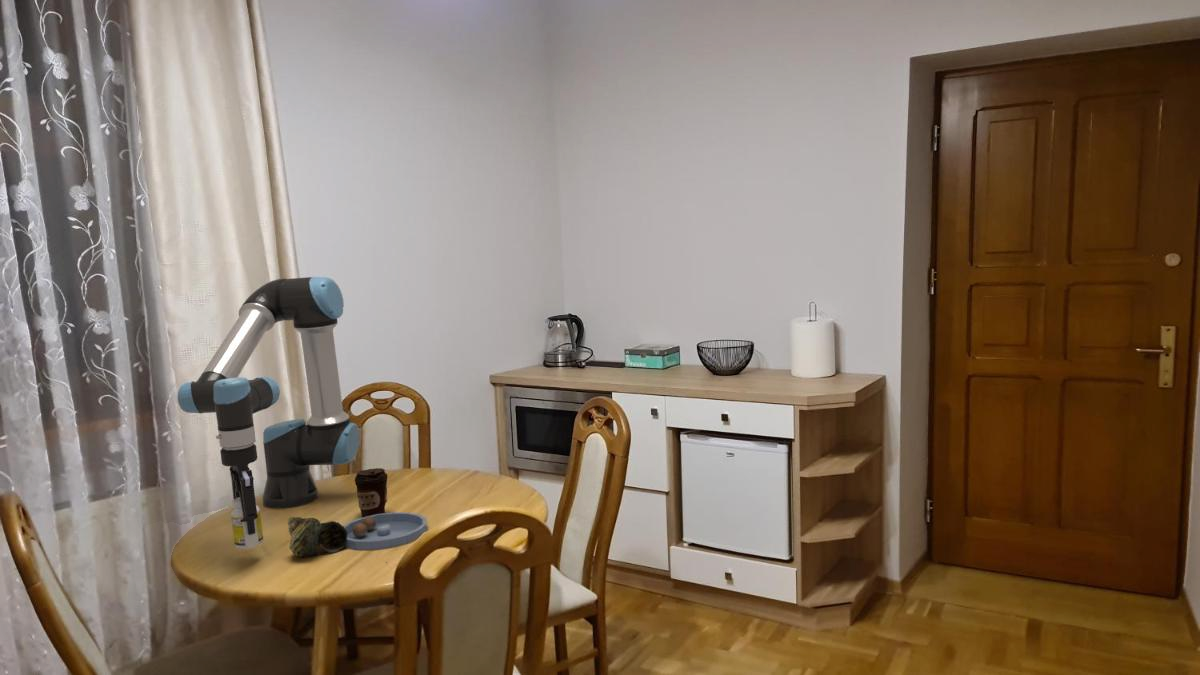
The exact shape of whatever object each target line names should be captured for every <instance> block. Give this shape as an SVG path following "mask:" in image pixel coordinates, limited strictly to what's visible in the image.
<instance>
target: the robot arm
mask: <svg viewBox="0 0 1200 675" xmlns="http://www.w3.org/2000/svg"><path fill="white" fill-rule="evenodd" d="M344 306H345V305H344V297H343V293H342V292H341V288H340V287H339V285H338V284H337V283H336V281H335V280H333V279H332V278H330V277H326V276H325V277H324V276H322V277H321V276H309V277H307V276H305V277H294V278H278V279H273V280H271V281H269V282H266V283H265V284H263V285H261V286H260V287H259V288H257V289H256V290H255V291H253V293H251V294H250V295H249V296H248V297H246V299H245V301H244V302H243V304H242V305H241V307H240V308H239V310H238V318H237V320H236V321H235V323H234V324H233V326H232V327H231V329H230V330H229V332H228V334H227V335H226V336H225V338H224V340H223V341H222V343H221V344H220V346H219V347H218V349H217V350H216V352H215V353H214V354H213V356H212V358H211V359H210V360H209V362H208V364H207V365H206V367H205V369H204V370H203V372H202V373H201V375H200V376H199V377H198V379H197V380H196V381H194V380H193V381H190V382H189V381H188V382H185V383H183V384H182V385H181V386H180V387H179V388H178V392H177V403H178V405H179V407H180V409H181V410H182V411H183V412H185V413H186V414H188V413H190V414H211V413H212V414H213V413H215V416H216V422H217V431H218V434H217V435H215V438H216V439H217V440H219V446H220V448H221V449H220V458H221V459H220V460H221V464H222V466H225V467H229V471H230V477H231V478H230V479H231V480H230V481H231V488H232V489H231V490H232V497H233V498H232V499H233V500H234V499H236V498H238V497H240V500H241V506H242V512H243V519H242V520H240V521H241V522H243V529H244V537H245V546H246V549H251V548H255V547H258V546H260V545H259V542H258V533H257V524H256V518H258V514H257V509H256V505H257V502H256V495H255V488H254V480H255V479H254V478H255V477H254V476H253V471H252V469H250V467H249V464H251V463H254V462H256V461H257V460H258V451H257V445H256V444H255V443H256V441H257V439H256V432H255V431H256V430H255V429H256V428H255V423H254V414H256V413H258V412H261V411H264V410H266V409H269V408H270V407H271V406H273V405H274V404H276V403H277V402H278V400H279V399H280V395H281V394H280V393H281V392H280V391H281V390H280V388H279V385H278V383H277V382H276V381H275V380H274V379H272V378H271V377H269V376H262V377H255V378H253V379H248V378H246V377H241V376H240V377H239V375H240V374H241V373H242V371H243V369H244V368H245V366H246V364H247V363H248V361H249V359H250V358H251V355H252V354H253V352H254V351H255V350H256V348H257V346H258V344H259V343H260V341H261V340H262V338H263V336H264V335H265V333H266V332H269V331H270V330H272V329H273V327H274V326H275V324H276V323H278V322H282V321H293V322H292V323H293V328H294V329H295V330H296V331H297V332H299V333H300V338H301V345H302V354H303V361H304V362H303V363H304V367H305V375H306V383H307V390H308V398H309V406H310V413H311V416H310V417H309V418H308V420H307V421H306V419H304V418H302V419H301V418H295V419H291V420H285V421H281V422H279V423H274V424H272V425H269V426H267V427H265V429H264V430H263V432H262V434H263V435H262V436H263V437H262V438H263V439H262V440H263V441H262V442H263V443H262V444H263V453H264V459H265V469H266V481H265V485H264V490H263V494H262V505H263V506H264V507H265V508H269V509H287V508H294V507H299V506H304V505H306V504H309V503H312V502H315V500H317V499H319V490H318V487H317V485H316V482H315V481H314V478H313V475H312V474H311V471H310V470H311V469H310V466H338V465H347V464H350V463H351V462H352V461H353V460H354V459H355V457H356V455H357V453H358V451H359V446H360V438H361V437H360V433H361V432H360V429H359V426H358V424H356V423H354V422H351V420H350V415H349V413H347V412H345V411H344V406H343V400H342V399H343V398H342V392H341V386H340V384H341V383H340V375H339V369H338V360H337V353H336V345H335V338H334V329H335V327H336V326H337V325H338V319H339V318H341V317H342V316H343V314H344Z"/></svg>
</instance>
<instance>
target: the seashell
mask: <svg viewBox="0 0 1200 675" xmlns="http://www.w3.org/2000/svg"><path fill="white" fill-rule="evenodd" d="M287 524H288V533H289V535H290V536H291V537H290V542H289V550H291V552H292V554H293V555H295V556H296V557H297V558H299V557H300V558H309V557H315V556H319V555H326V554H335V553H338V552H339V551H340V550H342V549H343V548H345V547H344V546H345V544H346V542H347V530H346V529H344V525H342V524H341V523H340V522H339V521H337V522H336V521H333V520H331V521H326V522H322V523H321V521H320V520H319V519H318V518H314V517H305V518H303V517H300V516H299V517H298V516H297V517H295V516H290V517H288V519H287Z"/></svg>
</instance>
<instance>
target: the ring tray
mask: <svg viewBox="0 0 1200 675" xmlns="http://www.w3.org/2000/svg"><path fill="white" fill-rule="evenodd" d="M367 517H373V518H374V519H375V521H376V526H375V528H374V529H373V530H371V531H367V533H366V535H365V536H363V537H361V538H359V537H356V536H355V535H354V534H353V527H354V526H355V525H356V524H358V523H362V521H363V519H364V518H366V517H363V518H362V517H359V518H357V519H354V520H352V521H350V522H347V523H346V524H344V525H343V526H344V529H346V530H347V542H346V544H345V546H344V547H343V548H347V549H351V550H356V551H375V550H376V551H377V550H385V549H391V548H395V547H401V546H403V545H407V544H409V543H411V542H414V541H416V540H418V538H419V537H420V536H421V535H422V534H423V533H424V532H426V531H427V532H428V520H427V519H428V518H427V517H425V516H423V515H422V514H420V513H414V512H408V511H407V512H405V511H404V512H399V511H398V512H397V511H394V512H393V511H392V512H385V513H383V514H376V515H371V516H367ZM427 532H426V533H427ZM419 539H420V538H419Z"/></svg>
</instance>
